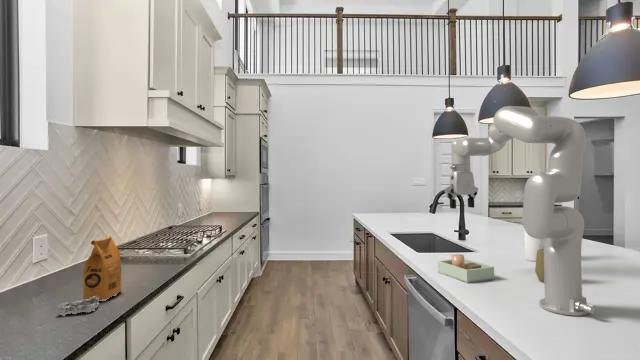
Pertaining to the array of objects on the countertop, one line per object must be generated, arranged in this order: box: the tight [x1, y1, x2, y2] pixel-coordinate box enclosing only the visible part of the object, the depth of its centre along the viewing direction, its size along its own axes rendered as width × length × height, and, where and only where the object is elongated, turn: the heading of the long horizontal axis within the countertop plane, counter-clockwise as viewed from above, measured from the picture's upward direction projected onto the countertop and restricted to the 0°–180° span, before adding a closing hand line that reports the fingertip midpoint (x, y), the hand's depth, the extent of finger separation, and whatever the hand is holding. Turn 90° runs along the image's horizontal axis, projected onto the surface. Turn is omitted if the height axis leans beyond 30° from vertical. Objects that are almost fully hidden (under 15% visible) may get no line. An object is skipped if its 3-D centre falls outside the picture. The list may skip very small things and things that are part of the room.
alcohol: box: [523, 228, 544, 263], centre depth 168 cm, size 9×9×30 cm
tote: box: [437, 258, 495, 284], centre depth 144 cm, size 18×14×5 cm
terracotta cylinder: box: [451, 253, 465, 268], centre depth 148 cm, size 5×5×7 cm
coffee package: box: [82, 235, 122, 300], centre depth 127 cm, size 10×12×22 cm
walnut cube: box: [463, 263, 481, 270], centre depth 141 cm, size 5×5×5 cm
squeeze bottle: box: [534, 239, 547, 283], centre depth 134 cm, size 8×8×18 cm
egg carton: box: [57, 295, 100, 313], centre depth 114 cm, size 11×8×4 cm
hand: (462, 207), depth 149 cm, fingers open, 9 cm apart
